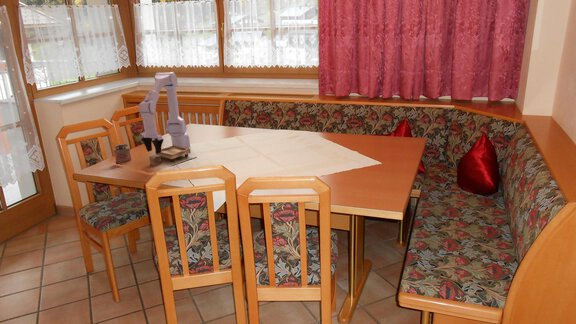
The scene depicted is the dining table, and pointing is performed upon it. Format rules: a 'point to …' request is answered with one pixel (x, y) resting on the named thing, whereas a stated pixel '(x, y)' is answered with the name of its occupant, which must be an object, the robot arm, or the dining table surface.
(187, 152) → the tray
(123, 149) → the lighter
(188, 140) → the robot arm
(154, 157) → the block
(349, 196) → the dining table surface
